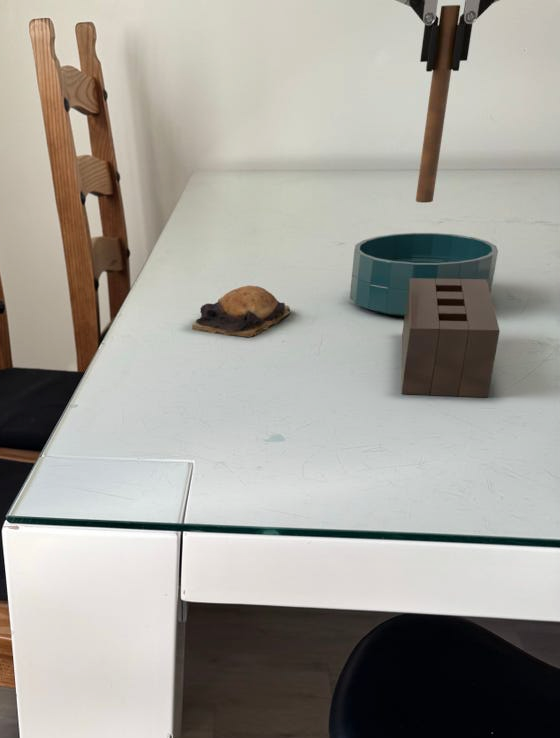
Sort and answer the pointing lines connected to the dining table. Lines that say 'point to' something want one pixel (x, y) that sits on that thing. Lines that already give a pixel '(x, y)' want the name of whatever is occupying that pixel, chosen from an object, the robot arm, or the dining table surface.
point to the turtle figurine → (242, 312)
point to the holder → (448, 338)
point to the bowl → (414, 266)
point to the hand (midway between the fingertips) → (442, 68)
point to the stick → (437, 103)
